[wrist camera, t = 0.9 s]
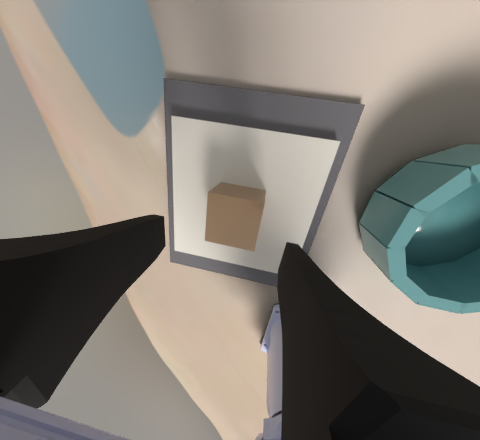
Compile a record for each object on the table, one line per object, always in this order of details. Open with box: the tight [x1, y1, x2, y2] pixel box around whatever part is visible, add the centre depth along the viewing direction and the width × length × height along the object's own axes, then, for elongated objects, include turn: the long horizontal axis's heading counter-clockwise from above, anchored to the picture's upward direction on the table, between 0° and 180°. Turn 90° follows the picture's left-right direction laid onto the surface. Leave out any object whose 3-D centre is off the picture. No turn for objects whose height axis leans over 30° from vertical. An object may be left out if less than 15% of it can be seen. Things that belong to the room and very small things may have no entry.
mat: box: [164, 78, 365, 286], centre depth 17 cm, size 18×15×1 cm
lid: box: [171, 116, 340, 274], centre depth 15 cm, size 13×13×4 cm
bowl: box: [359, 144, 480, 314], centre depth 13 cm, size 11×11×5 cm
